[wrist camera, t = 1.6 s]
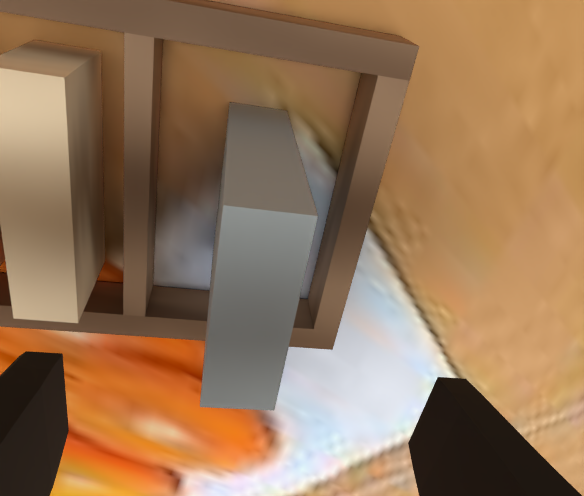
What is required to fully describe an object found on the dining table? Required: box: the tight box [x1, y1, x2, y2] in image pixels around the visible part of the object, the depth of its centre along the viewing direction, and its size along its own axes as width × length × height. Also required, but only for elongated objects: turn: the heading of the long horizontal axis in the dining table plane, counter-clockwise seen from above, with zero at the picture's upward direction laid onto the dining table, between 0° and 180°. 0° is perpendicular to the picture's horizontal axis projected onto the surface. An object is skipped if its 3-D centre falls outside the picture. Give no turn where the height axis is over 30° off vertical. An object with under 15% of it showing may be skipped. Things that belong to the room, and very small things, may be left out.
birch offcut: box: [0, 40, 105, 323], centre depth 16 cm, size 8×2×4 cm, turn 170°
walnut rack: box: [0, 0, 419, 349], centre depth 17 cm, size 12×18×2 cm, turn 80°
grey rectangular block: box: [200, 102, 318, 410], centre depth 15 cm, size 6×2×8 cm, turn 170°
